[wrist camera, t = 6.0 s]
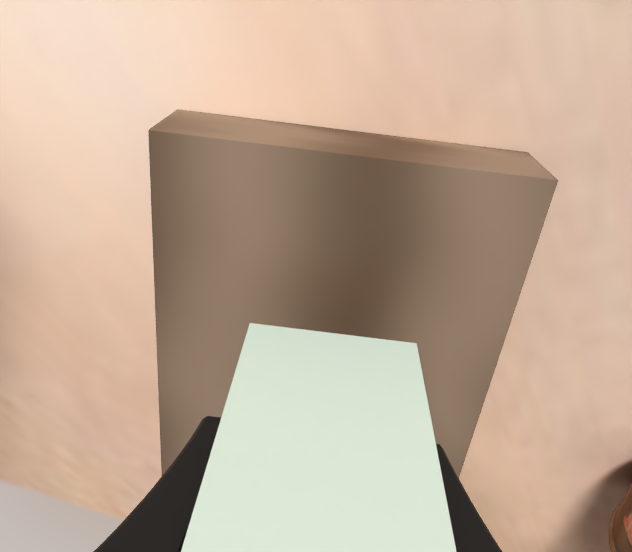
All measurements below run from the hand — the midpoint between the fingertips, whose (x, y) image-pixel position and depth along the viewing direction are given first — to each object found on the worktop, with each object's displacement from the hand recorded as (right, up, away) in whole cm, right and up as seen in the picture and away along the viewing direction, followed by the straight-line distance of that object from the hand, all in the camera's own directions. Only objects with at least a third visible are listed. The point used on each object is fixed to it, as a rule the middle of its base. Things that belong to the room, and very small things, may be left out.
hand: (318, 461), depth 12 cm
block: (0, +1, +1) cm, 2 cm away
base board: (0, +3, +6) cm, 7 cm away
